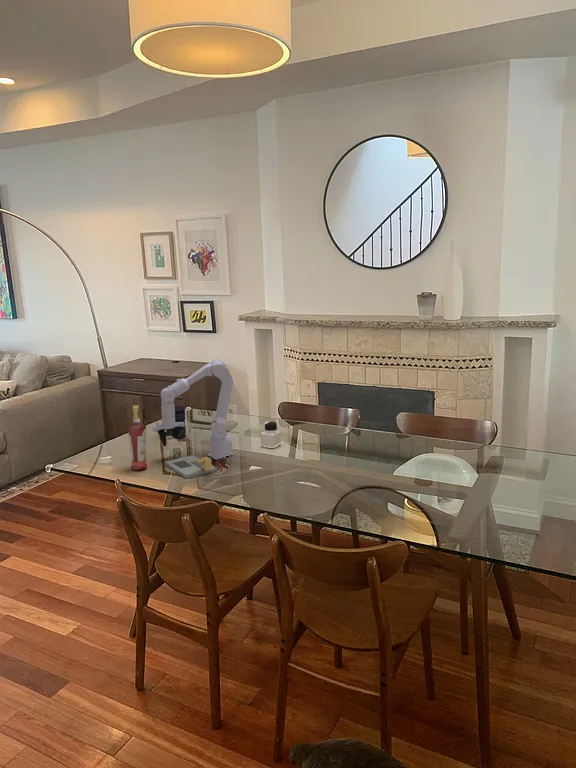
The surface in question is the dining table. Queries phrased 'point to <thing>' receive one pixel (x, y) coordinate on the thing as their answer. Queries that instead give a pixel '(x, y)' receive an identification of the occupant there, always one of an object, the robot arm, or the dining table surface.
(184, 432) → the storage jar
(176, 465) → the panel
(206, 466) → the wooden l-shaped block
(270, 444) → the medicine bottle
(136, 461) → the liquor
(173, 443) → the cover
